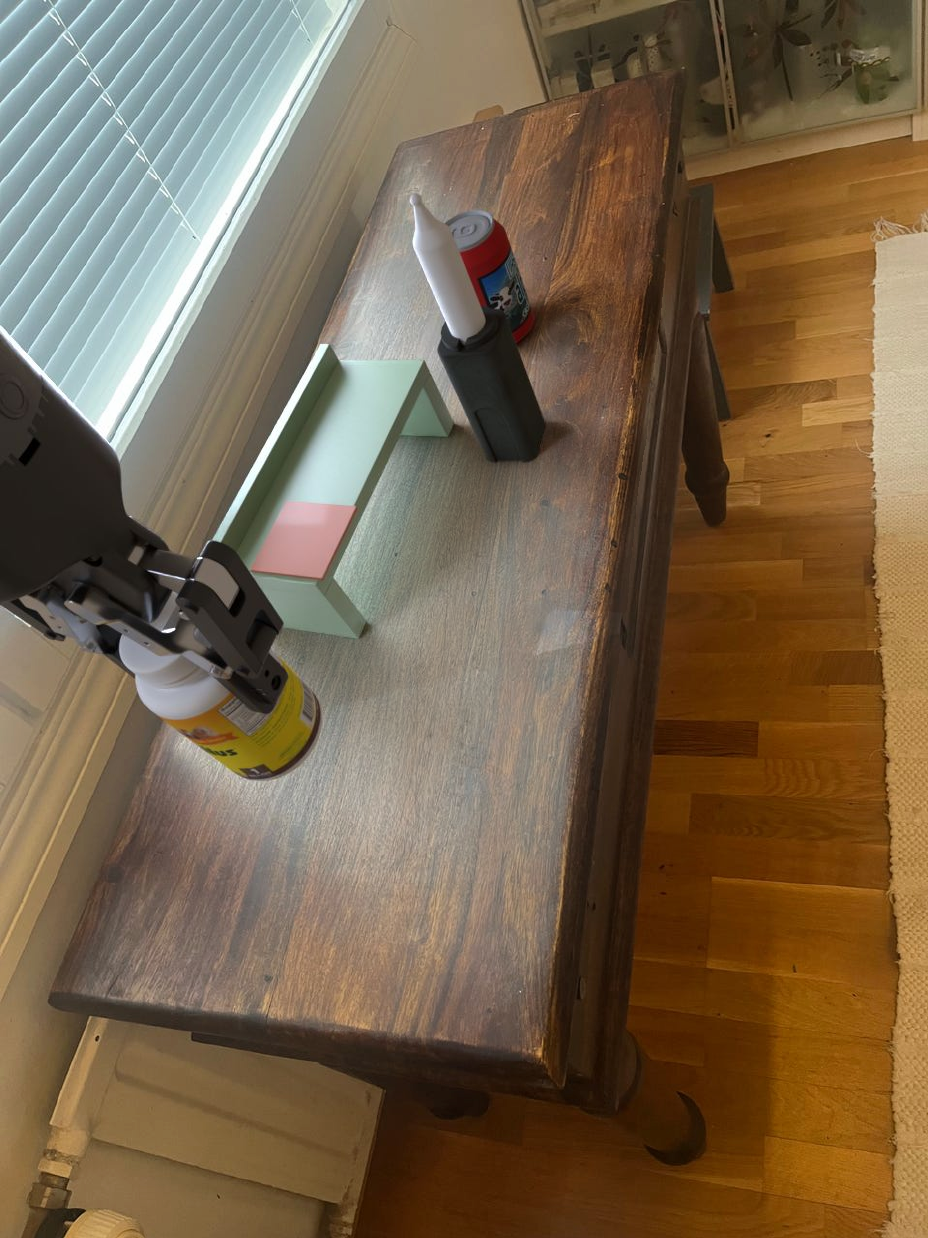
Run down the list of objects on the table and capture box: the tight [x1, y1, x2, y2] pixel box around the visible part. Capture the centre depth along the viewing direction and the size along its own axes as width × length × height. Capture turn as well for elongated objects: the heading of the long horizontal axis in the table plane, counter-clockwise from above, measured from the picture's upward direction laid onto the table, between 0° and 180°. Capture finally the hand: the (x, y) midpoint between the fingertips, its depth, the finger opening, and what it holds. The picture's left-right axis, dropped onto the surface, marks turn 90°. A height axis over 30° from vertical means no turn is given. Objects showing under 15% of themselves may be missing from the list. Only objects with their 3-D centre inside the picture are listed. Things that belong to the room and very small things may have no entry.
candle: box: [409, 192, 547, 464], centre depth 74 cm, size 5×5×25 cm
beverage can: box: [443, 209, 535, 344], centre depth 88 cm, size 7×7×12 cm
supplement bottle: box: [119, 591, 324, 782], centre depth 43 cm, size 6×6×10 cm
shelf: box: [212, 343, 455, 639], centre depth 81 cm, size 24×10×10 cm, turn 160°
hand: (219, 683), depth 42 cm, fingers closed on supplement bottle, 5 cm apart
